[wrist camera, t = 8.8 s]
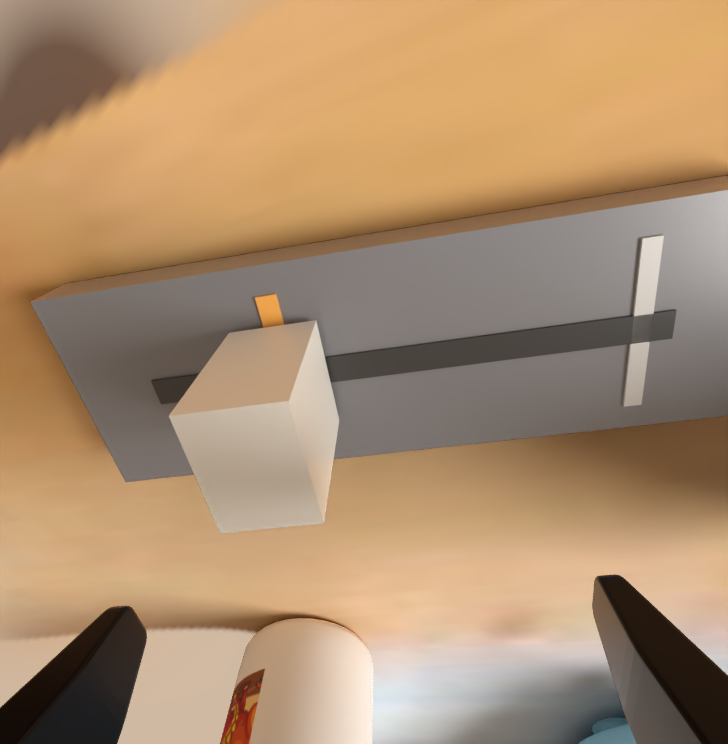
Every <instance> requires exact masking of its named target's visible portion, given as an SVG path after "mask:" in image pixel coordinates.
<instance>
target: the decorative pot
mask: <svg viewBox="0 0 728 744" xmlns="http://www.w3.org/2000/svg"><path fill="white" fill-rule="evenodd" d="M592 731H593V733H594V735H592V736H590V737H587V738H586V739H584V740H583V741H581V742H580V743H579V744H636V741H635V739H634V736H633V734H632V732H631V729H630V727H629V724H628V722H627V719H625V718H621V717H610V718H605V719H602V720H600V721H598V722H596V723H595V724H594V725H593V726H592Z"/></svg>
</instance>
